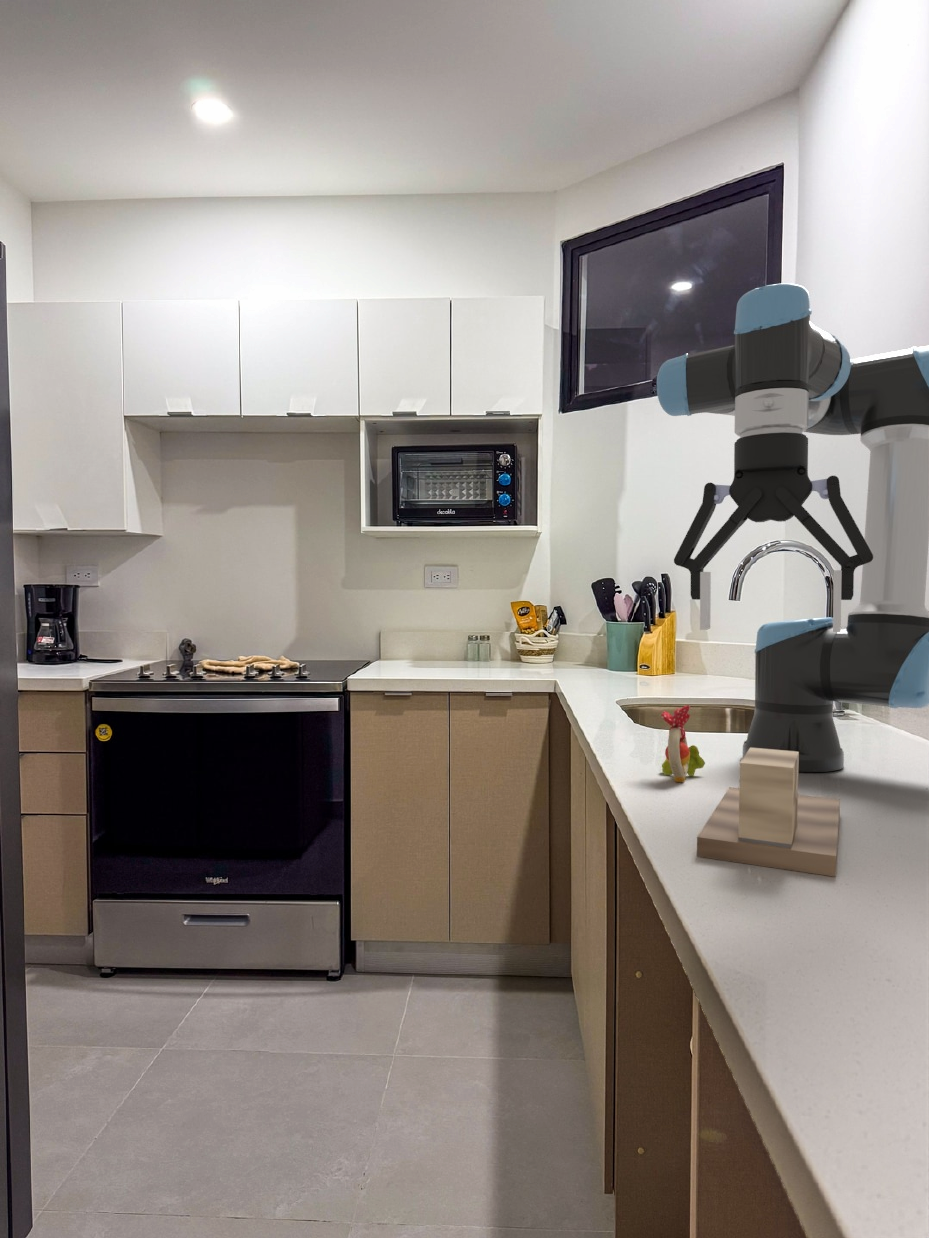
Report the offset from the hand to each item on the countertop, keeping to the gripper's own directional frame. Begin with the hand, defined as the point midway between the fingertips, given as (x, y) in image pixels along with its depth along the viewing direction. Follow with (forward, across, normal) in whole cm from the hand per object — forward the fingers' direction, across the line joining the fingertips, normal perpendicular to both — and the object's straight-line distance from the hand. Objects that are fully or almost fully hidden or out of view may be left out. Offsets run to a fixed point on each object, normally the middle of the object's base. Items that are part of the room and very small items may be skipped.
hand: (768, 630), depth 88 cm
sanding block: (+21, +1, -6) cm, 22 cm away
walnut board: (+23, +1, +1) cm, 23 cm away
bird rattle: (+24, -14, +24) cm, 37 cm away
